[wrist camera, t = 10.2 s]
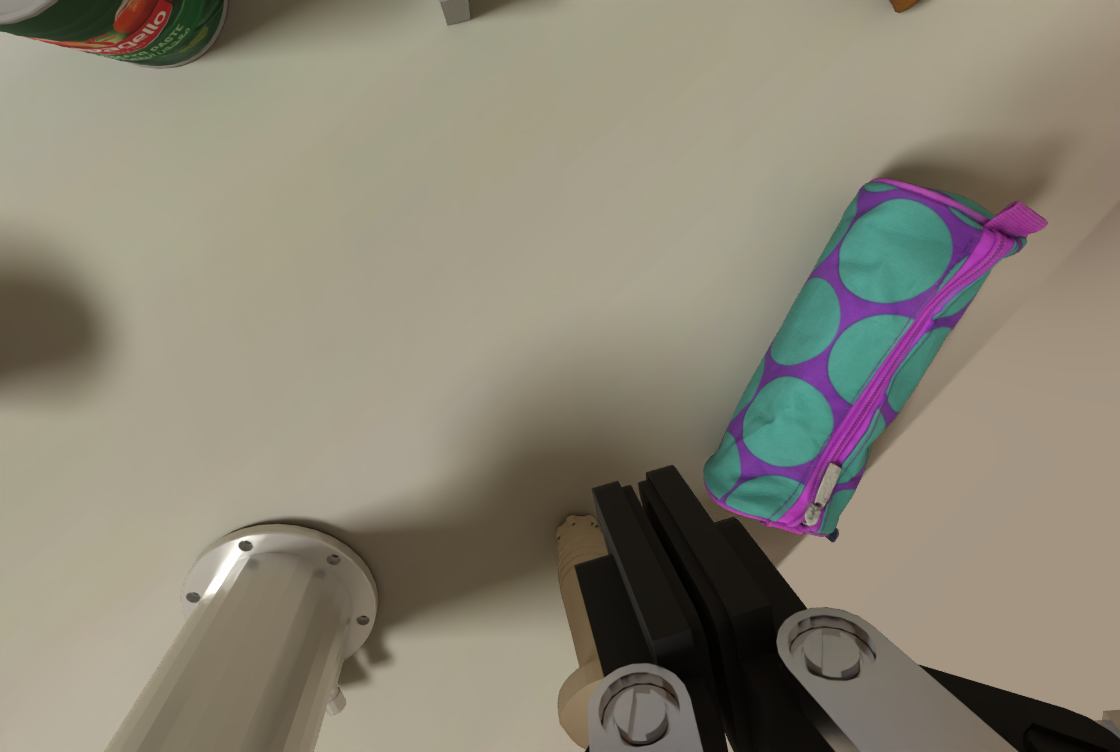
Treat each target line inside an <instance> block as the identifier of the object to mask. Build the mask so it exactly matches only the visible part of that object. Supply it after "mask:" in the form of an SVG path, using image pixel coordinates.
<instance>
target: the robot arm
mask: <svg viewBox="0 0 1120 752" xmlns="http://www.w3.org/2000/svg"><path fill="white" fill-rule="evenodd" d="M638 487H639V492H640V497H641V501H642V506H643V507H642V506H641V504H640V502H639V500H638V498H637V496H636V494H635V492H634V490H633V488H632V486H631V485H628V486H625V487H621V485H620V483H619V482H618V481H616V482H612V483H609V484H606V485H602V486H599V487H595V488H592V493H593V497H594V501H595V505H596V509H597V513H598V517H599V521H600V524H601V528H602V532H603V536H604V540H605V544H606V548H607V552H608V555H606V556H602V557H599V558H596V559H592V560H589V561H586V562H582V563H579V564H576V565H574V567H575V571H576V575H577V578H578V582H579V586H580V589H581V593H582V597H583V601H584V604H585V608H586V612H587V615H588V619H589V623H590V627H591V630H592V634H593V638H594V641H595V645H596V649H597V653H598V656H599V660H600V664H601V667H602V671H603V675H604V679H603V680H602V681H601V682H600V683H599V685H598V686H597V687H596V688H595V690H594V692H593V695H592V697H591V699H590V701H589V709H588V731H589V746H588V747H587V749H586V751H585V752H728V748H727V743H726V738H725V734H726V736H727V738H728V741H729V743H730V745H731V747H732V749H733V751H734V752H1120V710H1111V711H1103V717H1102V720H1098V721H1093V720H1092V719H1090V718H1088V717H1086V716H1083V715H1081V714H1078V713H1075V712H1073V711H1070V710H1068V709H1065V708H1062V707H1059V706H1055V705H1052V704H1049V703H1046V702H1042V701H1039V700H1035V699H1032V698H1029V697H1025V696H1022V695H1018V694H1015V693H1012V692H1009V691H1005V690H1002V689H998V688H995V687H992V686H989V685H985V684H982V683H978V682H975V681H972V680H969V679H965V678H962V677H958V676H955V675H951V674H948V673H945V672H942V671H938V670H935V669H932V668H928V667H925V666H922V665H918V664H917V663H915V662H914V661H913V660H912V659H911V658H910V657H908V656H907V655H906V654H905V653H904V652H903V651H902V650H900V649H899V648H898V647H897V646H896V645H894V644H893V643H892V642H891V641H890V640H888V638H886V637H885V636H884V635H883V634H882V633H881V632H879V631H878V630H877V629H876V628H875V627H874V626H872V625H871V624H870V623H868V622H867V621H865V620H864V619H862V618H861V617H859V616H857V615H854V614H852V613H849V612H847V611H844V610H840V609H834V608H828V607H824V608H809V609H807V608H806V606H805V605H804V604H803V602H802V601H801V600H800V599H799V597H798V596H797V595H796V593H795V592H794V591H793V590H792V588H791V587H790V586H789V584H788V583H787V582H786V581H785V579H784V578H783V577H782V576H781V574H780V573H779V572H778V570H777V569H776V568H775V566H774V565H773V564H772V563H771V561H770V560H769V559H768V557H767V556H766V555H765V554H764V552H763V551H762V550H761V549H760V547H759V546H758V545H757V543H756V542H755V541H754V540H753V538H752V537H751V536H750V534H749V533H748V532H747V531H746V529H745V528H744V527H743V525H742V524H741V523H740V522H739V521H738V520H737V519H736V518H734V517H731V518H728V519H725V520H722V521H718V522H715V523H714V522H713V520H712V519H711V518H710V516H709V515H708V513H707V512H706V511H705V509H704V508H703V506H702V505H701V503H700V502H699V501H698V499H697V498H696V496H695V495H694V493H693V492H692V491H691V489H690V488H689V486H688V485H687V484H686V482H685V481H684V479H683V478H682V476H681V475H680V474H679V472H678V471H677V469H676V468H675V467H674V466H673V465H670V466H667V467H663V468H660V469H657V470H653V471H650V472H646V480H645V481H642V482H638ZM181 607H182V614H183V616H184V619H185V622H186V623H185V625H184V626H183V628H182V629H181V631H180V633H179V634H178V636H177V637H176V639H175V640H174V642H173V644H172V645H171V647H170V648H169V650H168V651H167V653H166V655H165V656H164V658H163V659H162V661H161V663H160V664H159V666H158V667H157V669H156V670H155V672H154V674H153V675H152V677H151V678H150V680H149V681H148V683H147V685H146V686H145V688H144V689H143V691H142V693H141V694H140V696H139V697H138V699H137V700H136V702H135V704H134V705H133V707H132V708H131V710H130V711H129V713H128V715H127V716H126V718H125V719H124V721H123V722H122V724H121V726H120V727H119V729H118V730H117V732H116V734H115V735H114V737H113V738H112V740H111V741H110V743H109V745H108V746H107V748H106V749H105V751H104V752H314V749H315V746H316V742H317V739H318V735H319V732H320V728H321V725H322V721H323V718H324V714H325V711H326V712H327V713H328V714H329V715H336V714H338V713H340V712H341V711H342V710H343V709H344V707H345V705H346V699H345V697H344V695H343V694H342V692H341V690H340V688H339V687H338V686H337V683H338V679H339V675H340V672H341V668H342V665H343V661H344V660H346V659H347V658H349V657H350V656H351V655H353V654H354V653H355V652H356V651H357V650H358V649H359V648H360V647H361V646H362V645H363V643H364V642H365V641H366V639H367V638H368V637H369V634H370V632H371V630H372V628H373V625H374V622H375V618H376V614H377V609H378V593H377V588H376V583H375V580H374V578H373V576H372V574H371V572H370V570H369V568H368V567H367V566H366V564H365V563H364V562H363V560H362V559H361V558H360V557H359V556H358V555H357V554H356V553H355V552H354V551H353V550H352V549H350V548H349V547H348V546H347V545H345V544H343V543H342V542H340V541H339V540H337V539H335V538H334V537H332V536H329V535H327V534H324V533H322V532H319V531H317V530H314V529H310V528H305V527H301V526H296V525H285V524H269V525H258V526H253V527H249V528H244V529H240V530H238V531H235V532H233V533H231V534H228V535H226V536H224V537H222V538H221V539H219V540H218V541H216V542H214V543H213V544H211V545H210V546H209V547H208V548H207V549H206V550H205V551H204V552H203V553H202V554H201V555H200V556H199V557H198V559H197V560H196V562H195V563H194V565H193V566H192V567H191V569H190V570H189V572H188V574H187V576H186V579H185V581H184V583H183V586H182V591H181Z"/></svg>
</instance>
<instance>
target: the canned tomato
mask: <svg viewBox="0 0 1120 752" xmlns="http://www.w3.org/2000/svg"><path fill="white" fill-rule="evenodd" d="M227 8H228V0H0V31H1V32H7V33H11V34H14V35H17V36H24V37H27V38H30V39H34V40H40V41H43V42H46V43H51V44H56V45H59V46H62V47H68V48H71V49H75V50H80V51H83V52H87V53H92V54H96V55H99V56H104V57H108V58H111V59H116V60H120V61H124V62H128V63H131V64H134V65H138V66H141V67H149V68H158V69H161V68H171V67H178V66H181V65H184V64H187V63H189V62H192V61H193V60H195V59H197V58H198V57H200V56H201V55H203V54H204V53H205V52H206V51H207V50H208V49H209V48H210V47H211V46H212V45H213V44H214V42H215V41H216V39H217V37H218V35H219V34H220V32H221V30H222V28H223V25H224V21H225V18H226V15H227Z"/></svg>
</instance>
